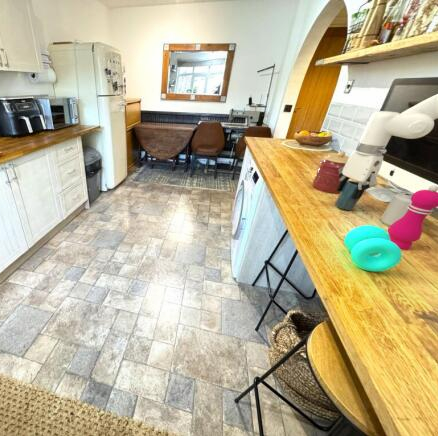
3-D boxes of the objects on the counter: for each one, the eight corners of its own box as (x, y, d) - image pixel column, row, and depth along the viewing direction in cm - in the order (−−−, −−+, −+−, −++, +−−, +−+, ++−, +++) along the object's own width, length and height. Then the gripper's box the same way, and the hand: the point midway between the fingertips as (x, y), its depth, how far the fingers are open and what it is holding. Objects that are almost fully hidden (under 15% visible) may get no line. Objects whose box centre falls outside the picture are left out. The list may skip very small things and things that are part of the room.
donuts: (377, 256, 71) (395, 227, 66) (391, 278, 63) (413, 248, 58) (337, 247, 74) (351, 220, 69) (345, 267, 66) (362, 238, 61)
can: (403, 222, 88) (422, 192, 82) (409, 232, 82) (431, 201, 76) (377, 217, 91) (394, 188, 85) (381, 226, 85) (400, 195, 79)
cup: (343, 203, 101) (356, 181, 96) (356, 210, 95) (371, 187, 90) (330, 202, 100) (343, 180, 95) (343, 209, 94) (357, 186, 89)
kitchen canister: (340, 185, 118) (356, 150, 109) (346, 195, 108) (364, 157, 99) (310, 181, 122) (323, 146, 113) (313, 190, 112) (328, 153, 103)
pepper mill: (383, 245, 75) (420, 187, 65) (379, 235, 80) (414, 179, 70) (414, 253, 72) (459, 193, 62) (408, 242, 77) (449, 184, 67)
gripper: (404, 155, 79) (376, 204, 88) (357, 143, 93) (338, 185, 102) (384, 156, 78) (358, 205, 87) (340, 143, 92) (322, 186, 102)
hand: (347, 194), depth 95 cm, fingers closed on cup, 6 cm apart
